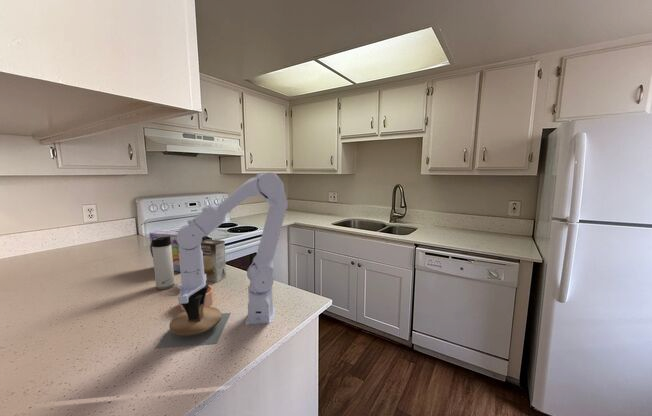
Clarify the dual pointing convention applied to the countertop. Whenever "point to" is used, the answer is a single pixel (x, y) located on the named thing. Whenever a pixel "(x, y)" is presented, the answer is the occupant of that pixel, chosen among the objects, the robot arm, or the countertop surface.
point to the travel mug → (163, 263)
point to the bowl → (206, 298)
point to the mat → (195, 336)
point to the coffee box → (214, 259)
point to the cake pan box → (173, 244)
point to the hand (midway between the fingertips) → (196, 315)
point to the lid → (195, 321)
